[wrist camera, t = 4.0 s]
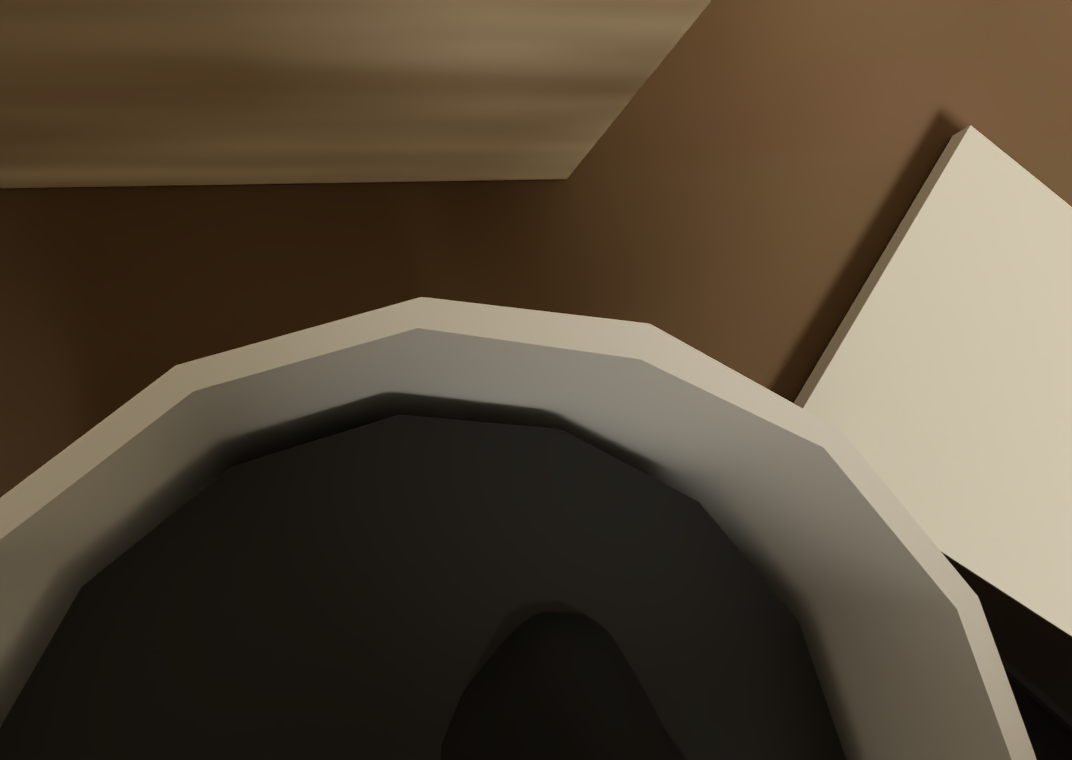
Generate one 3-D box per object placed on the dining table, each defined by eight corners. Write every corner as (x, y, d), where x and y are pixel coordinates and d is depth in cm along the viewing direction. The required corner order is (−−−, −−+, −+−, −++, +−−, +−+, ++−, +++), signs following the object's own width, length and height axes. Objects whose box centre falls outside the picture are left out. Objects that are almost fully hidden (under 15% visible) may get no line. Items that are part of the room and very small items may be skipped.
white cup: (440, 370, 16) (701, 105, 6) (655, 753, 16) (1259, 1094, 6) (12, 601, 14) (-586, 740, 4) (253, 1037, 14) (200, 2189, 4)
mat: (1123, 857, 17) (1148, 867, 17) (702, 555, 16) (715, 556, 16) (1309, 424, 20) (1335, 421, 19) (952, 136, 19) (970, 125, 18)
